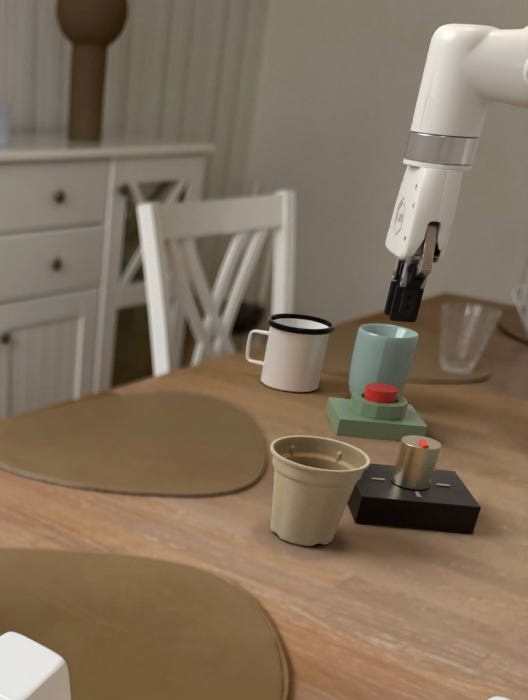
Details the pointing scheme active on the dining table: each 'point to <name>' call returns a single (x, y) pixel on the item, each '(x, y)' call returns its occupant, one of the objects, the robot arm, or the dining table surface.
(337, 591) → the dining table surface
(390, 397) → the button
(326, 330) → the mug
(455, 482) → the dial panel
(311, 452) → the flower pot
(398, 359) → the cup
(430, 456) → the knob
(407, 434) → the button housing
